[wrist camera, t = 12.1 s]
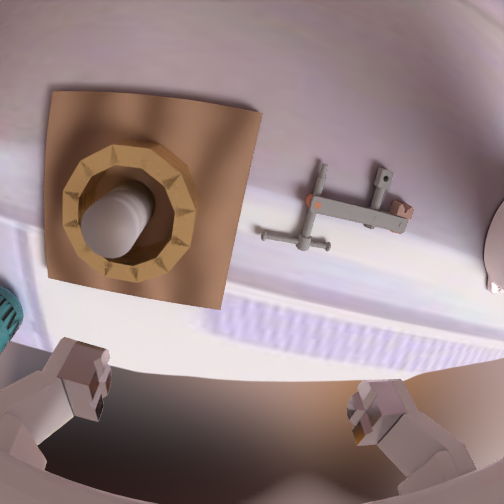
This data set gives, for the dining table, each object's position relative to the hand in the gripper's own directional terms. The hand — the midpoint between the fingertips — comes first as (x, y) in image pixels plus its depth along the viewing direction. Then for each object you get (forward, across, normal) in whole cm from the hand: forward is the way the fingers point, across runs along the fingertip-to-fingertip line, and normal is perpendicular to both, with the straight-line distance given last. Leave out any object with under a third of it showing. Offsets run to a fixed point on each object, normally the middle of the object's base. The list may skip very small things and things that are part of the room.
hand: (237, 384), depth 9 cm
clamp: (+23, -11, -1) cm, 26 cm away
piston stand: (+22, +10, +2) cm, 24 cm away
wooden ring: (+20, +9, +2) cm, 23 cm away
